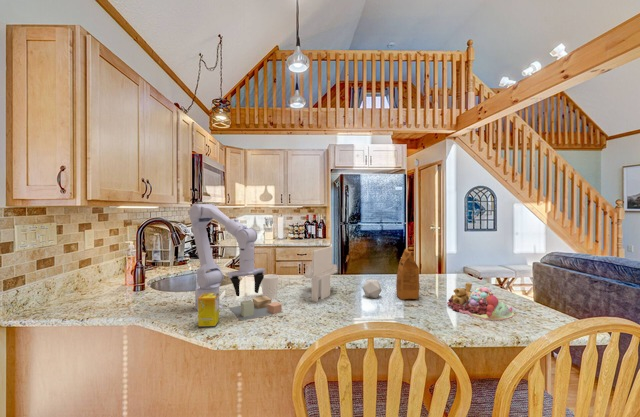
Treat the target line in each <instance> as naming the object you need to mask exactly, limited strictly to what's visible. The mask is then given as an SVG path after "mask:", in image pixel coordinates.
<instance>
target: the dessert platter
mask: <svg viewBox="0 0 640 417" xmlns="http://www.w3.org/2000/svg"><path fill="white" fill-rule="evenodd" d="M472 286H473V285H472V283H470V282H466V283H465V285H464V287H465V288H464V287H462V288H461V287H460V288H459V287H457V288H455V289H453V293H454V294H452V295H451V297H450V298H448V300H447V302H446V305H448V306H447V307H449V308H450V307H451V310H453V311H456V312H459V313H462V314H467V315H469V316H471V317H473V318H476V319H480V320H484V321H504V320H509V319H512V318H513V317H514V316H515V313H514V312H513V307H512V306H511V307H510V308H509V307H508V306H507V305H506V304H505V302H504V301H500V302H499V300H498V298H497V297H496V295H495V294H494V293H492V290H491V288H488V287H487V286H485V287H484V286H483V287H476V288H475V290H473V291H471V290H472Z"/></svg>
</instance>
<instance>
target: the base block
mask: <svg viewBox="0 0 640 417" xmlns="http://www.w3.org/2000/svg"><path fill="white" fill-rule="evenodd" d="M252 302H254V306H255V307H256V308H257V309H261V308H266V307H267V304H270V303H272V299H270V298H268V297H267V296H263V295H262V296H257V297H252Z"/></svg>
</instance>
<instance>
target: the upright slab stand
mask: <svg viewBox="0 0 640 417" xmlns="http://www.w3.org/2000/svg"><path fill="white" fill-rule="evenodd" d="M332 248H333V246H332V243H330V246H327V247H323V248H318V249H314V250H312V259H311V264H308V265H307V268H306V270H305V273H304V277H305V278H306V279H311V302H315V303H318V302H319V298H320V300H321V301H322V300H324V299H326V298H327V297H329V296H330V295H331V275H334V274H336V273H337V272H338V265H337V264H333V263H332V262H333V261H332V260H333V258H332V256H333V249H332Z"/></svg>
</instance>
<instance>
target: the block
mask: <svg viewBox="0 0 640 417" xmlns="http://www.w3.org/2000/svg"><path fill="white" fill-rule="evenodd" d="M281 311H282V303H280V302H277V301H274V302H271V303H270V304H267V312H270V313H272V315H276V314H275V313H277V314H279V313H278V312H281Z"/></svg>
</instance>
